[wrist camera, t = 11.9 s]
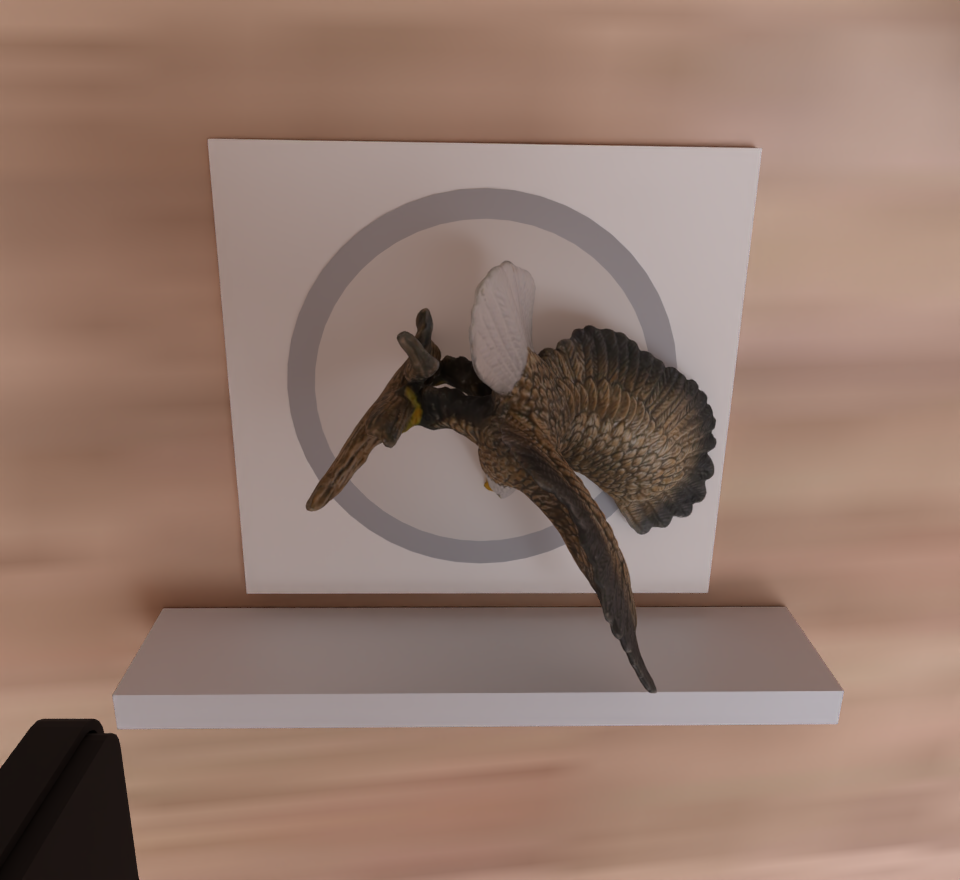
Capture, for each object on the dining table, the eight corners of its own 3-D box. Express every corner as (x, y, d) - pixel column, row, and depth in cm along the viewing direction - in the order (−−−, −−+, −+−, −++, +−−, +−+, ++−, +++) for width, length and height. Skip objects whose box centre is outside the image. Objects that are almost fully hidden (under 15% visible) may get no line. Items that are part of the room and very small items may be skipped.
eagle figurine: (307, 532, 22) (612, 704, 22) (292, 477, 16) (731, 725, 16) (450, 296, 24) (728, 454, 25) (492, 157, 18) (877, 377, 18)
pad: (756, 147, 21) (763, 148, 21) (704, 585, 25) (709, 595, 25) (211, 138, 21) (206, 139, 20) (249, 586, 25) (245, 595, 24)
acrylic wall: (786, 606, 26) (844, 691, 22) (781, 636, 26) (837, 723, 22) (162, 608, 25) (112, 695, 21) (166, 638, 25) (117, 729, 22)
